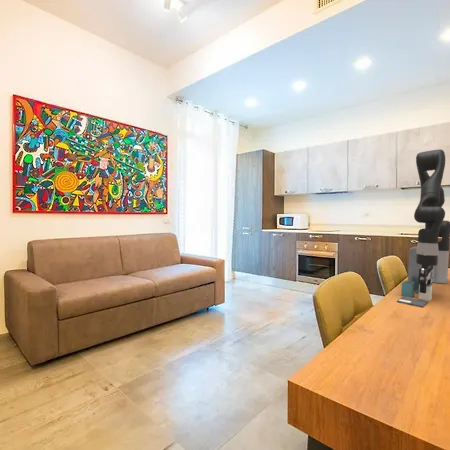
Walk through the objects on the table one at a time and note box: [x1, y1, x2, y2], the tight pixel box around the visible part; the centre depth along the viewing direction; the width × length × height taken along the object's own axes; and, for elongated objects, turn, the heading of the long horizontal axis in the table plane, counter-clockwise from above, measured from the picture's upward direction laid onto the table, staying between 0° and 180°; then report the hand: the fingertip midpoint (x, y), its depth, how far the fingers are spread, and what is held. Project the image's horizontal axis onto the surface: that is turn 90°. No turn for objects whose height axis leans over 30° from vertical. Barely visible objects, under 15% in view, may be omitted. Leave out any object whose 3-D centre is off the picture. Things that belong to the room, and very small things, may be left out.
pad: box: [396, 296, 429, 308], centre depth 118 cm, size 9×9×1 cm
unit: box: [407, 246, 424, 294], centre depth 134 cm, size 7×8×21 cm
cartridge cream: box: [417, 284, 433, 302], centre depth 123 cm, size 4×4×6 cm
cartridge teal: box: [400, 280, 415, 298], centre depth 128 cm, size 4×4×6 cm
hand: (425, 291), depth 123 cm, fingers open, 8 cm apart
